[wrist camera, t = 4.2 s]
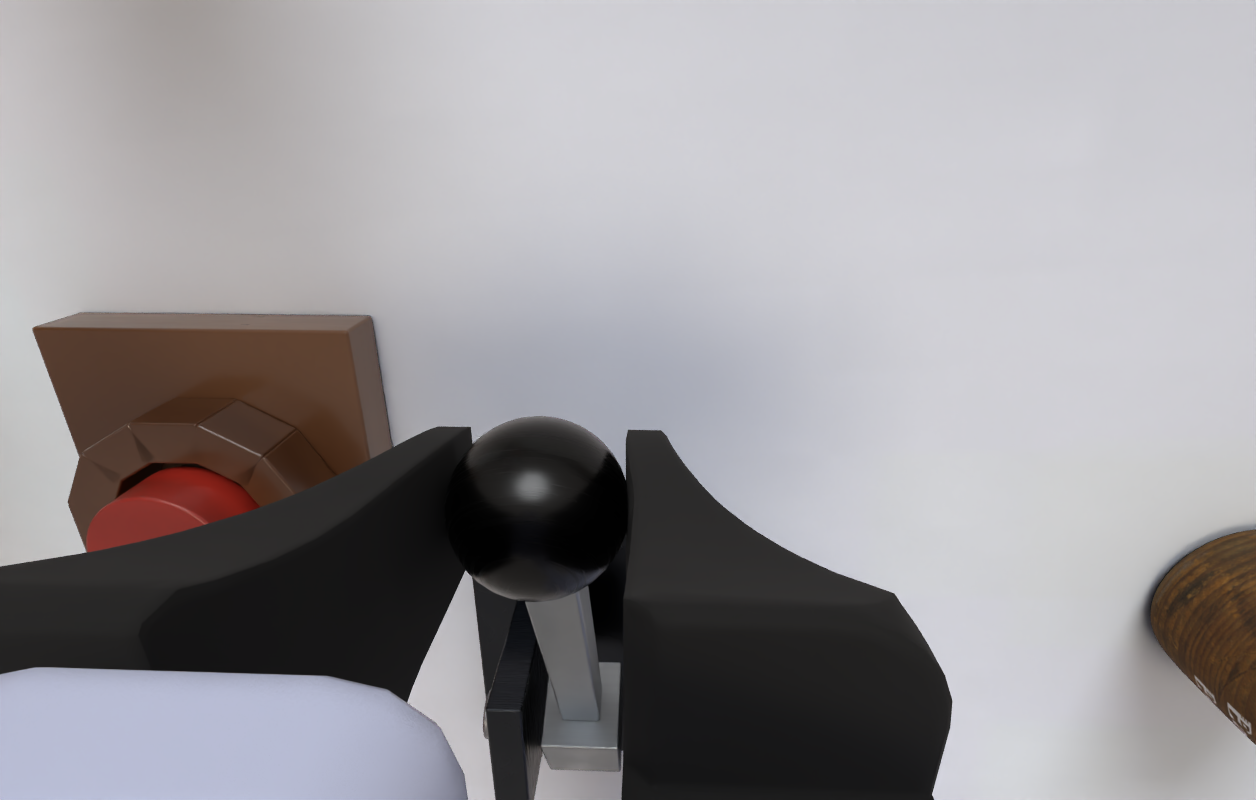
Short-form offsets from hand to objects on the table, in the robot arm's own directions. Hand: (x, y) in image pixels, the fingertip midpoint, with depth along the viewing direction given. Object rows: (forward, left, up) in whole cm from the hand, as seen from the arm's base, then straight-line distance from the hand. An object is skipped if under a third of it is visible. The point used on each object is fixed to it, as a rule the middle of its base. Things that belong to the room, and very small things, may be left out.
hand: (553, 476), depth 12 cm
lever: (-4, 0, -3) cm, 5 cm away
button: (-5, +11, -5) cm, 13 cm away
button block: (-5, +11, -8) cm, 14 cm away
